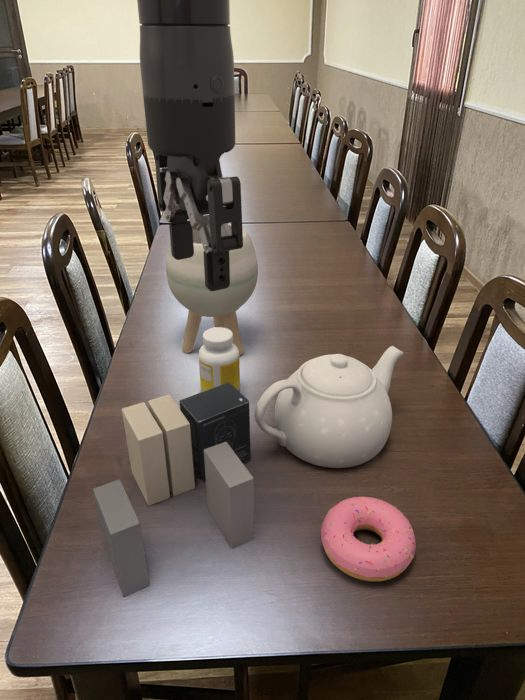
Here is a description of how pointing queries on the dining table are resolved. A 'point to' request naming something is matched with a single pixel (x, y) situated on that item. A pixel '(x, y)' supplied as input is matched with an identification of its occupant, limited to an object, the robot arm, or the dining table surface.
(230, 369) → the pill bottle
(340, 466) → the teapot
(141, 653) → the dining table surface
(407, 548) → the doughnut
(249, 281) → the planter
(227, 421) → the box
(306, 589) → the dining table surface
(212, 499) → the grey books
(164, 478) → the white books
